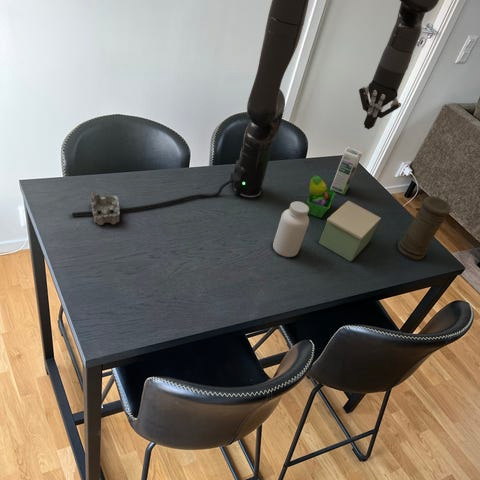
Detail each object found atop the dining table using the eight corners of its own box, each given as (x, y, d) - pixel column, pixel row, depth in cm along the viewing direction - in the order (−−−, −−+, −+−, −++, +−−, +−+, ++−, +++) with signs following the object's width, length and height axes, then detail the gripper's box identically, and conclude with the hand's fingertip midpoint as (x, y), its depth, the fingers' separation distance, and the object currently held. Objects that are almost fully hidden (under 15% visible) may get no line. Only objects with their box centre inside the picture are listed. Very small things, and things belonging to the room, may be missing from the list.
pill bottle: (301, 246, 140) (316, 204, 129) (294, 261, 134) (310, 219, 124) (276, 237, 141) (289, 194, 130) (269, 251, 135) (282, 208, 124)
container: (424, 263, 146) (454, 216, 133) (397, 255, 146) (424, 207, 133) (422, 246, 153) (451, 200, 140) (396, 238, 153) (422, 191, 140)
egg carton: (91, 202, 135) (90, 190, 132) (117, 203, 137) (117, 191, 134) (92, 225, 128) (91, 213, 125) (120, 225, 130) (120, 213, 127)
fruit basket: (324, 221, 151) (335, 192, 143) (298, 212, 152) (308, 182, 144) (330, 204, 159) (342, 175, 151) (306, 195, 160) (316, 166, 151)
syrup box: (329, 189, 165) (343, 152, 155) (333, 182, 169) (347, 145, 159) (344, 195, 165) (359, 158, 154) (348, 188, 169) (363, 151, 158)
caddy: (350, 261, 140) (362, 238, 133) (318, 242, 143) (327, 219, 136) (368, 242, 148) (380, 220, 142) (337, 225, 151) (347, 202, 145)
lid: (361, 239, 133) (362, 237, 132) (326, 220, 136) (327, 218, 135) (380, 219, 142) (381, 217, 141) (347, 202, 145) (348, 200, 144)
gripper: (365, 58, 123) (342, 121, 136) (410, 78, 119) (382, 141, 132) (376, 53, 128) (353, 115, 140) (420, 72, 124) (392, 133, 137)
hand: (367, 127), depth 136 cm, fingers closed
